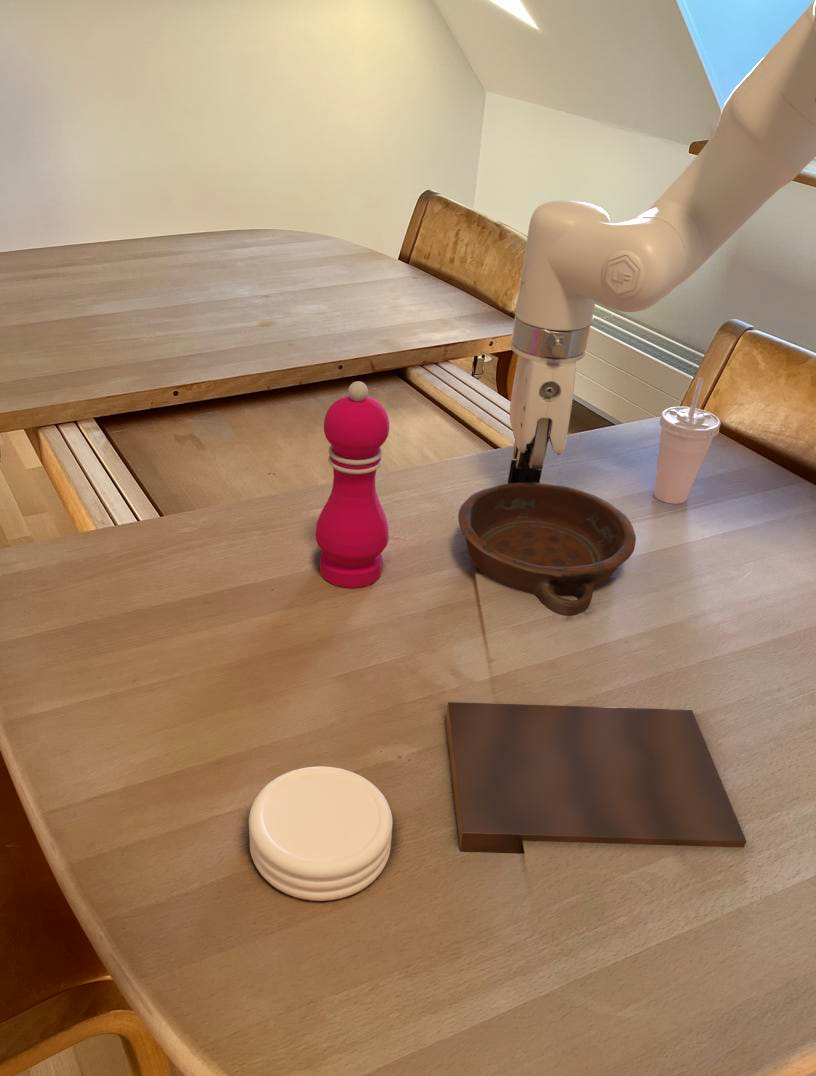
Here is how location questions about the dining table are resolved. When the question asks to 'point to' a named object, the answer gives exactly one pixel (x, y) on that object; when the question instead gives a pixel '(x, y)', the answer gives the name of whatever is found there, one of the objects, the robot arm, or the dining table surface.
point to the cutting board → (584, 777)
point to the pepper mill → (353, 491)
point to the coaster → (320, 833)
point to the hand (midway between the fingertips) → (521, 495)
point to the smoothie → (683, 448)
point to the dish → (546, 540)
